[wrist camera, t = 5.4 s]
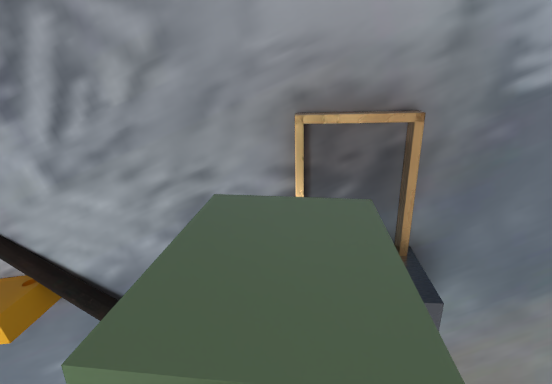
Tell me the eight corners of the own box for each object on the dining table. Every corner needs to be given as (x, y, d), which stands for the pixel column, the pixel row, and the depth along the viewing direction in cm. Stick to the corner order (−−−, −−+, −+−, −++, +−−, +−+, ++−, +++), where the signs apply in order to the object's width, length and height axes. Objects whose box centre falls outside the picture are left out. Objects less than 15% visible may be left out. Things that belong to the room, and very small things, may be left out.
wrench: (-8, 172, 30) (260, 334, 31) (-15, 212, 32) (237, 363, 33) (-75, 191, 25) (246, 383, 26) (-77, 237, 27) (220, 413, 28)
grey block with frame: (286, 113, 23) (278, 127, 17) (427, 110, 22) (476, 124, 16) (290, 292, 29) (284, 355, 22) (403, 296, 28) (432, 364, 21)
